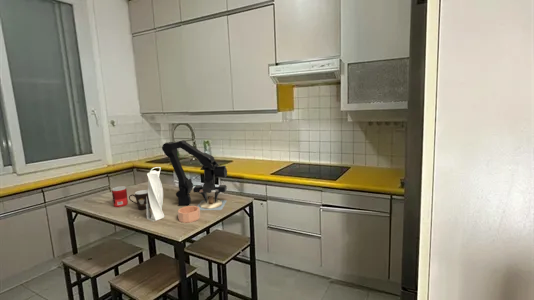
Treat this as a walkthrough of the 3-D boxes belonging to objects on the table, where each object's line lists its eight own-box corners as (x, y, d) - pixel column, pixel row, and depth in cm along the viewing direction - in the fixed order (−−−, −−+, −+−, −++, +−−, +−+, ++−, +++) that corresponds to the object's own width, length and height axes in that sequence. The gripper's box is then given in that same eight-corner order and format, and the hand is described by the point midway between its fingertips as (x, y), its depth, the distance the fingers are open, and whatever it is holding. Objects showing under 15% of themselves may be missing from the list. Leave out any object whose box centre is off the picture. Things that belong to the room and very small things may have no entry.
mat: (193, 210, 167) (193, 209, 167) (201, 201, 183) (201, 200, 183) (221, 210, 166) (221, 209, 166) (227, 201, 182) (227, 200, 182)
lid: (197, 209, 168) (196, 200, 168) (203, 201, 181) (202, 193, 180) (219, 208, 168) (219, 200, 167) (224, 201, 180) (223, 193, 180)
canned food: (130, 203, 182) (128, 186, 180) (119, 208, 175) (117, 190, 173) (122, 202, 185) (120, 185, 184) (110, 206, 178) (108, 189, 176)
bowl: (175, 222, 151) (174, 213, 150) (182, 214, 162) (182, 205, 161) (196, 222, 150) (195, 213, 150) (202, 214, 161) (201, 205, 160)
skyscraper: (160, 214, 164) (155, 165, 160) (168, 217, 159) (164, 167, 154) (146, 219, 158) (141, 168, 153) (154, 222, 153) (149, 170, 148)
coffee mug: (155, 206, 176) (153, 190, 175) (144, 211, 168) (143, 194, 167) (139, 204, 180) (138, 189, 178) (129, 209, 172) (127, 193, 170)
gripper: (189, 181, 164) (191, 207, 167) (222, 180, 163) (223, 207, 166) (195, 175, 175) (197, 200, 178) (226, 175, 174) (227, 200, 177)
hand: (211, 202), depth 174 cm, fingers open, 5 cm apart
